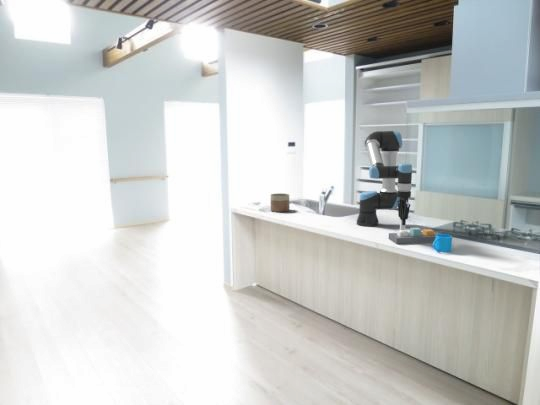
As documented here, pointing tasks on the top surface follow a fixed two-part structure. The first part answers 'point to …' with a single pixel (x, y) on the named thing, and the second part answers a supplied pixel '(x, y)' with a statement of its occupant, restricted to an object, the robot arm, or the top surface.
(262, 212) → the top surface
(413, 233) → the button teal
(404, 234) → the button white
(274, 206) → the planter
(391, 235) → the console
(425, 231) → the button orange
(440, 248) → the mug
